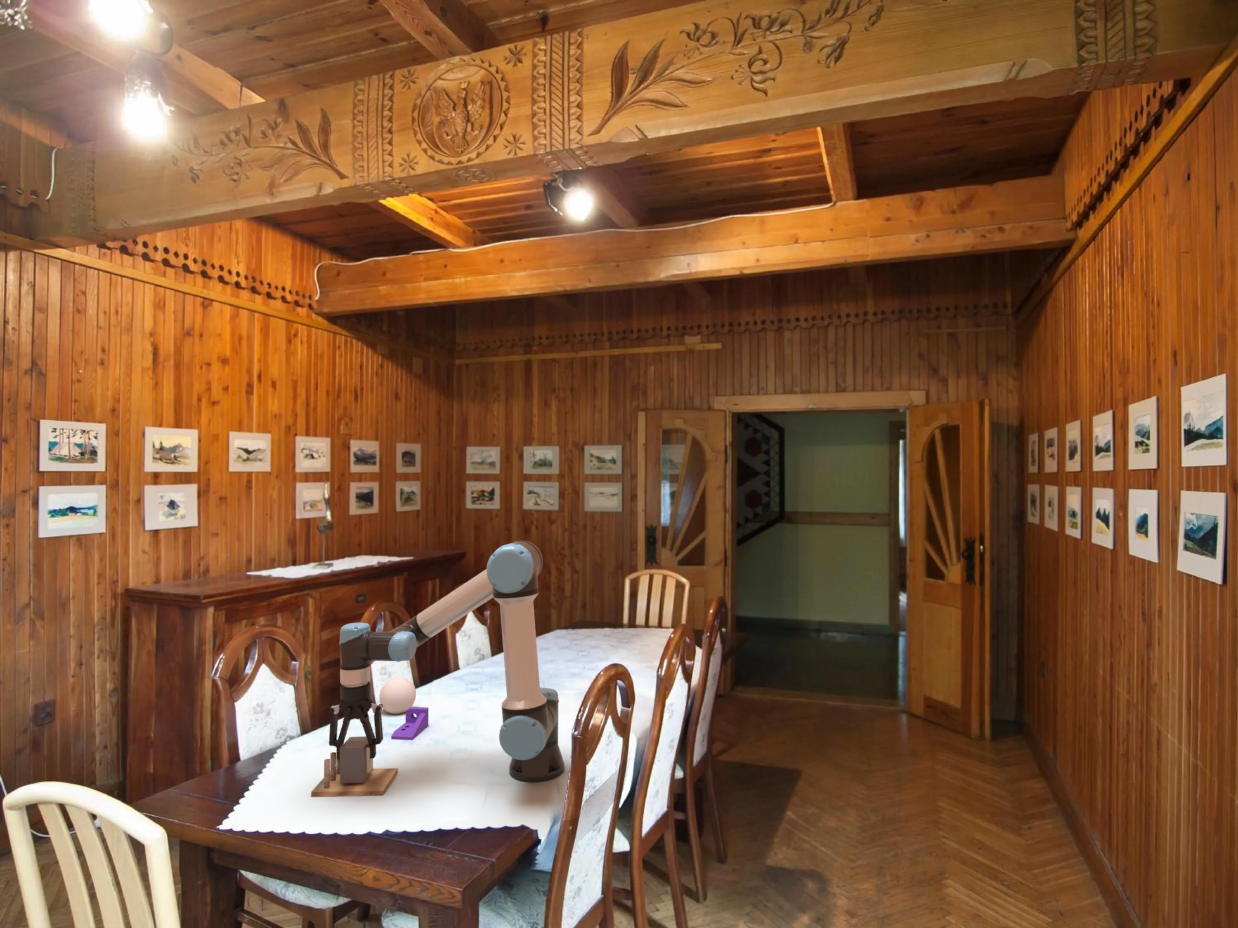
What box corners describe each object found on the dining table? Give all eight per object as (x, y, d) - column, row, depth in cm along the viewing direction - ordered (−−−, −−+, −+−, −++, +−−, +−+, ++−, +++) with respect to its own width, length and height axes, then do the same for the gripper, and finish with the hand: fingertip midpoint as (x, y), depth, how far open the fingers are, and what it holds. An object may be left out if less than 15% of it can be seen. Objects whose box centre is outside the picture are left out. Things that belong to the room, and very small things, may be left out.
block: (373, 769, 193) (372, 735, 193) (363, 782, 185) (363, 747, 185) (350, 770, 193) (349, 736, 193) (339, 783, 185) (339, 748, 185)
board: (397, 772, 197) (397, 742, 197) (383, 795, 183) (383, 762, 183) (330, 773, 196) (331, 743, 196) (311, 796, 182) (311, 763, 182)
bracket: (408, 727, 233) (408, 706, 233) (428, 728, 232) (428, 707, 232) (391, 741, 221) (391, 718, 221) (412, 742, 220) (412, 719, 220)
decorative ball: (415, 706, 253) (415, 672, 254) (416, 716, 242) (416, 681, 242) (379, 709, 250) (379, 674, 250) (379, 720, 238) (379, 684, 239)
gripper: (395, 677, 194) (396, 763, 193) (324, 679, 193) (325, 766, 193) (387, 685, 186) (389, 775, 186) (313, 688, 185) (314, 778, 185)
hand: (356, 770), depth 189 cm, fingers closed on block, 6 cm apart
